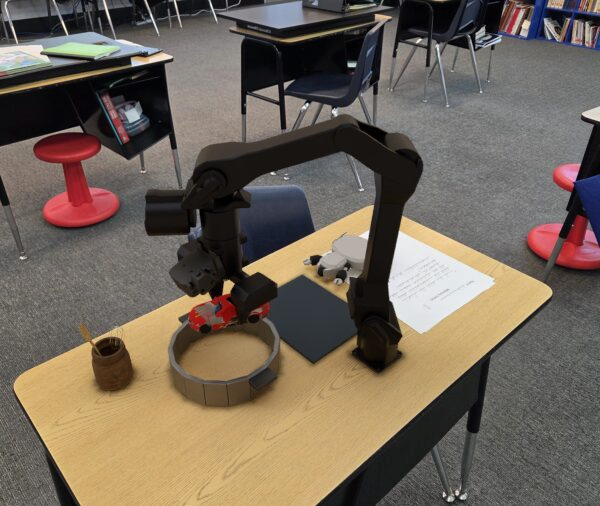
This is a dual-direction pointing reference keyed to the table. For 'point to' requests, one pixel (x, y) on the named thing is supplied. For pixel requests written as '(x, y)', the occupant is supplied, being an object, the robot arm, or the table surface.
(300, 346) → the rubber mat
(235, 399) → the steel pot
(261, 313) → the race car
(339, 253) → the robot toy
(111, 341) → the utensil holder
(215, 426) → the table surface
